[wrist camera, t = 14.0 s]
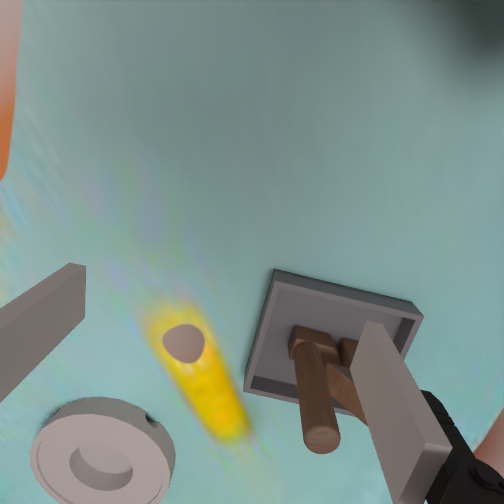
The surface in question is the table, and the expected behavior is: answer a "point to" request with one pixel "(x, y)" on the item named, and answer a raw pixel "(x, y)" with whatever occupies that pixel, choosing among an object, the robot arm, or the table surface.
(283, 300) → the tray
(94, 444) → the ashtray
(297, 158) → the table surface
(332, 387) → the brown round-handled part
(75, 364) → the table surface
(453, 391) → the table surface
